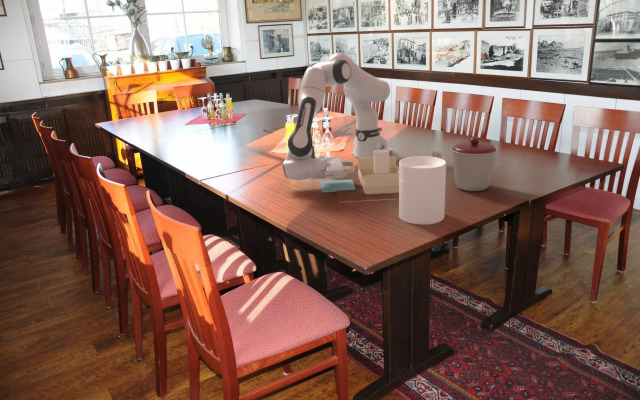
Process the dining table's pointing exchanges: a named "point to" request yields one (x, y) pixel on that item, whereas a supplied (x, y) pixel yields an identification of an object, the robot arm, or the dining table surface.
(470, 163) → the canister
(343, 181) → the mat
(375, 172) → the box
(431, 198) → the canister
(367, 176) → the beige open box
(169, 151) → the dining table surface
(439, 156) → the architectural model
